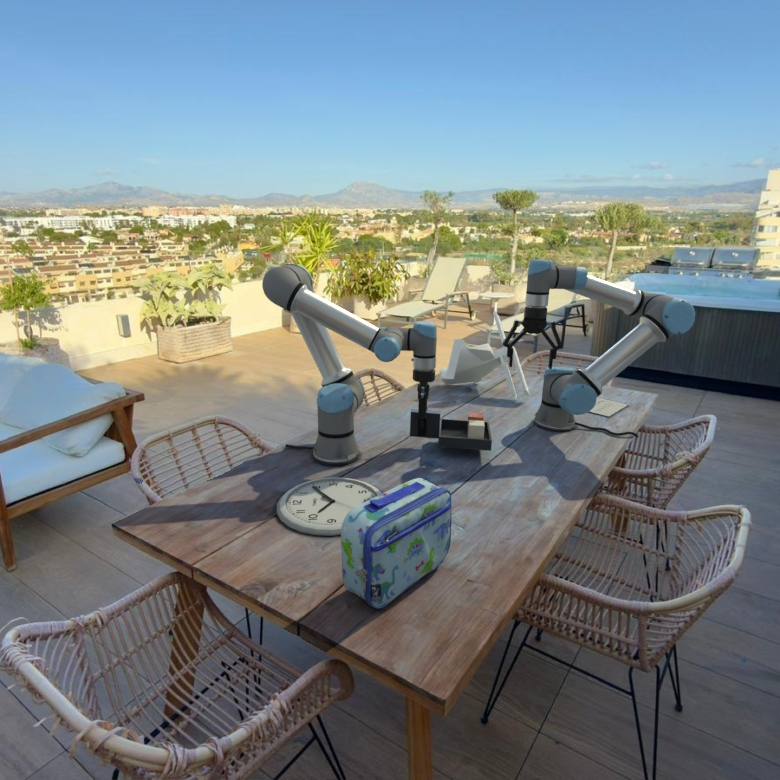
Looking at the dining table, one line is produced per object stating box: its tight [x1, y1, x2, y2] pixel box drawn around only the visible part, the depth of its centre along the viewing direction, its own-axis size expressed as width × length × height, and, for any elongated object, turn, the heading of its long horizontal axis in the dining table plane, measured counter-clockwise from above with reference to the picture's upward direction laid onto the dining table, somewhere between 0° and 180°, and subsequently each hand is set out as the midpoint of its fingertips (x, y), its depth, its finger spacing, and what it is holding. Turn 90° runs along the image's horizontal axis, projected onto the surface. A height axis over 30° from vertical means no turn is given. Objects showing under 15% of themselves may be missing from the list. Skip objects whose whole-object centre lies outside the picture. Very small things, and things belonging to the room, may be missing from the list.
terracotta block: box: [467, 411, 484, 436], centre depth 182 cm, size 5×5×7 cm
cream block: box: [468, 420, 485, 439], centre depth 174 cm, size 5×5×7 cm
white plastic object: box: [438, 310, 531, 400], centre depth 245 cm, size 37×45×31 cm
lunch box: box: [340, 477, 452, 610], centre depth 110 cm, size 26×11×21 cm, turn 134°
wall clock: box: [276, 476, 383, 537], centre depth 142 cm, size 30×2×30 cm
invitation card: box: [588, 397, 629, 418], centre depth 226 cm, size 21×1×15 cm
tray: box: [409, 408, 493, 452], centre depth 179 cm, size 27×17×9 cm, turn 83°
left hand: (422, 434), depth 181 cm, fingers closed on tray, 3 cm apart
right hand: (530, 367), depth 184 cm, fingers open, 13 cm apart
